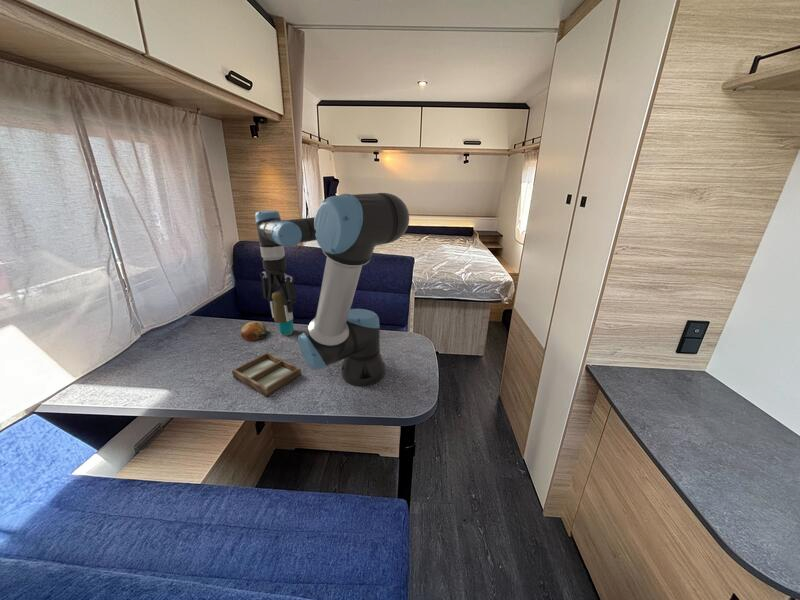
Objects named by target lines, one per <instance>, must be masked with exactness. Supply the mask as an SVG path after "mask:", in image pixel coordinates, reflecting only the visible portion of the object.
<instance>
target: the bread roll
mask: <svg viewBox="0 0 800 600" xmlns="http://www.w3.org/2000/svg"><path fill="white" fill-rule="evenodd" d="M267 331H268V330H267V328H266V326H265V324H264V323H262V322H261V321H250V322H247V323H245V324H244V325H243V326H242V327H241V329H240V336H241V338H242V339H243V340H245V341H248V342H249V341H250V342H251V341H253V340H254V341H258V340H260V339H263V338H264V337H265V335H266V334H267Z"/></svg>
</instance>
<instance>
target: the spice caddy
mask: <svg viewBox="0 0 800 600" xmlns="http://www.w3.org/2000/svg"><path fill="white" fill-rule="evenodd" d="M231 373H232V376H233V378H234V379H235V380H237V381H238V382H240V383H242V384H244V386H247V387H249V388H250V389H252V390H253V391H256V392H258V393H259V395H260V394H261V395H262V396H264V398H269V397H270V396H271V395H273V394H274V393H276V392H278V391H279V390H281V389H283V388H284V387H286V386H287V385H289V384H291V383H292V382H293V381H296V380H297V379H298V378H300V377H301V376H302V370H301V367H300V366H297V365H295V364H294V363H293V364H292V363H290V362H288V361H287V360H284V359H282V358H280V357H279V356H276V355H274V354H272V353H269V352H268V351H267V352H265V353H263V354H260V355H258V356H257V357H255V358H253V359H251V360H248V361H246V362H244V363H242V364H241V365H239V366H237V367H234V368H233V369H231Z"/></svg>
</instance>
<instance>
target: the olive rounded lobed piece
mask: <svg viewBox="0 0 800 600" xmlns="http://www.w3.org/2000/svg"><path fill="white" fill-rule="evenodd" d="M272 299H273V300H274V318H273V320H274V322H275V323H277V324H279V323H284V322H288V321H286V315H285V308H284V304H286V303H285V300H284V298H283V295H282V293H281V290H280V289H279V290H276V291H275V292H273V294H272Z"/></svg>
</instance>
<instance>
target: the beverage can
mask: <svg viewBox="0 0 800 600" xmlns="http://www.w3.org/2000/svg"><path fill="white" fill-rule="evenodd" d="M288 301H289V300H288ZM293 320H294V319H292V320H290V321H288V322H284V323H278V329H279V330H278V331H279V332H280V333H281V335H282V336H284V337H285V336H290V335H292V334H293V332H294V321H293Z"/></svg>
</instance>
